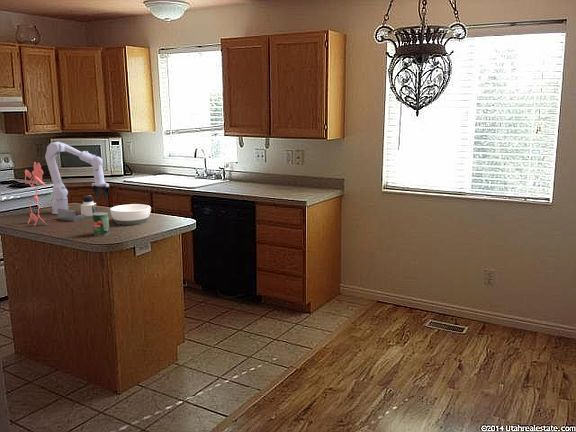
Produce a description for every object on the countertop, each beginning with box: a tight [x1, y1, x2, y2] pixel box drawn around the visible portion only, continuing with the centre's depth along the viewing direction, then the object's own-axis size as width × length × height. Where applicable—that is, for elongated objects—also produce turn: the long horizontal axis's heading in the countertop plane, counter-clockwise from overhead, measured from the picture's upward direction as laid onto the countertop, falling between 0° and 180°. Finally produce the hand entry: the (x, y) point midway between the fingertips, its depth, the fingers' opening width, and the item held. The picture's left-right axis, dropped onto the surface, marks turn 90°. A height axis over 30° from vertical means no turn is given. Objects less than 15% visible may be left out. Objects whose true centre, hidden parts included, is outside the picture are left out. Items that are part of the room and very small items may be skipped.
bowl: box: [109, 203, 152, 226], centre depth 307 cm, size 22×22×8 cm
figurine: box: [24, 161, 56, 227], centre depth 302 cm, size 15×26×35 cm, turn 47°
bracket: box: [57, 209, 86, 223], centre depth 314 cm, size 14×9×6 cm, turn 60°
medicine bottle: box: [80, 195, 98, 217], centre depth 324 cm, size 7×7×12 cm
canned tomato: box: [92, 211, 111, 237], centre depth 278 cm, size 8×8×11 cm
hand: (102, 197), depth 332 cm, fingers open, 7 cm apart
